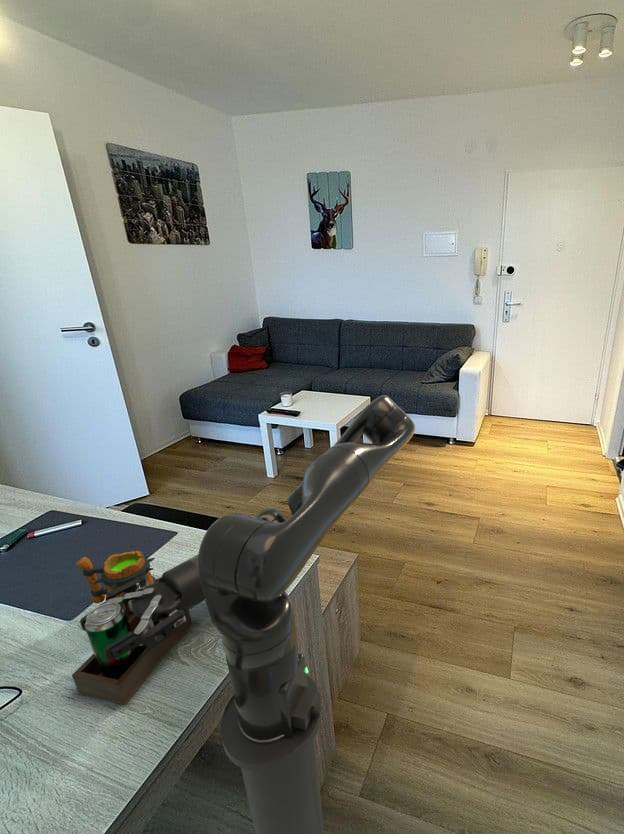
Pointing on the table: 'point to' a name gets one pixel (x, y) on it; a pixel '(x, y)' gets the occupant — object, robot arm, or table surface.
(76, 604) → the table surface
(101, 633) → the soda can
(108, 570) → the mug
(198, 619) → the table surface
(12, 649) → the table surface
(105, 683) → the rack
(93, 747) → the table surface
